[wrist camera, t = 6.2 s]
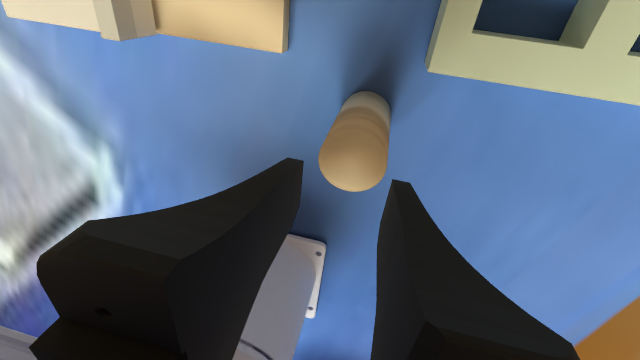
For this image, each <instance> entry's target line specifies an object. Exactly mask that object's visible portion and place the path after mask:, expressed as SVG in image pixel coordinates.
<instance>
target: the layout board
mask: <svg viewBox="0 0 640 360" xmlns="http://www.w3.org/2000/svg"><path fill="white" fill-rule="evenodd" d="M151 3H152V9H153V15H154V22H155V28H156V33H159V34H165V35H171V36H178V37H184V38H190V39H196V40H203V41H209V42H215V43H221V44H227V45H234V46H240V47H246V48H252V49H258V50H265V51H271V52H277V53H283V52H285V51H287V50H288V31H289V10H290V0H151Z"/></svg>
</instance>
